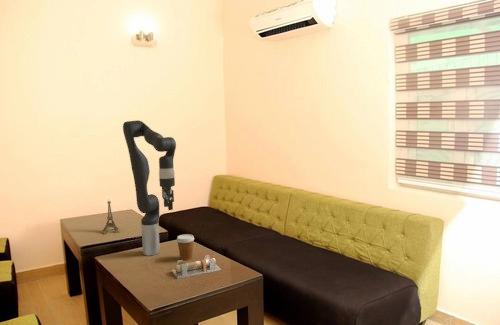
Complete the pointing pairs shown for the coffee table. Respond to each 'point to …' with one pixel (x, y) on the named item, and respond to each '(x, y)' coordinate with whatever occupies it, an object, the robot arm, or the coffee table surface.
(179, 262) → the white peg stand
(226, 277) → the coffee table surface
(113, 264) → the coffee table surface
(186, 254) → the disposable coffee cup
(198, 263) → the dowel
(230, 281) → the coffee table surface
